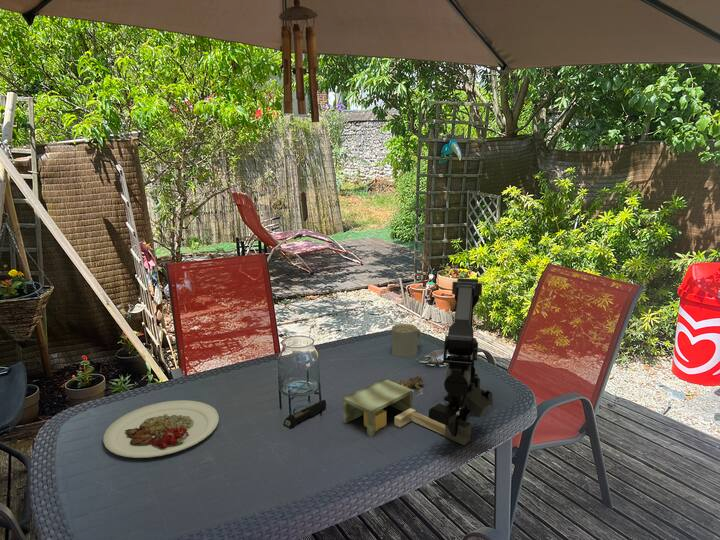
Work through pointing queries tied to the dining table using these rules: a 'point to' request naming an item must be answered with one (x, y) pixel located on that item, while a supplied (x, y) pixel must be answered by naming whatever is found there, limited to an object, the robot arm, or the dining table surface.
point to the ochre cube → (377, 419)
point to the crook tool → (435, 425)
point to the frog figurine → (412, 383)
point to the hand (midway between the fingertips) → (457, 433)
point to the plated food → (161, 429)
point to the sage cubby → (376, 401)
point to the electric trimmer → (304, 414)
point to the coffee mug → (405, 340)
